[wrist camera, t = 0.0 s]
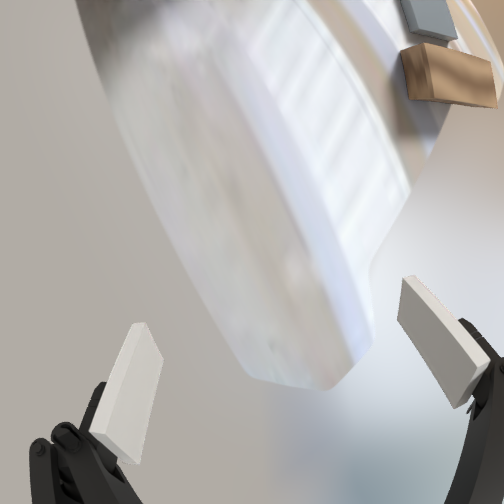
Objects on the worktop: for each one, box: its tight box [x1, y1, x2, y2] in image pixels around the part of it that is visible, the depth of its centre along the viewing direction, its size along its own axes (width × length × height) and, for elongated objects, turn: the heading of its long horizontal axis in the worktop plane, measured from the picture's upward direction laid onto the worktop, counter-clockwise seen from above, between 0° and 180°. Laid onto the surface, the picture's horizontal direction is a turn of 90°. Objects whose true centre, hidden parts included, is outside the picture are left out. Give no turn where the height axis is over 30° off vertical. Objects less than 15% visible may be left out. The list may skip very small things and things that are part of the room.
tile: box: [400, 0, 458, 41], centre depth 24 cm, size 12×9×3 cm
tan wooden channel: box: [400, 43, 498, 108], centre depth 28 cm, size 8×15×7 cm, turn 100°
